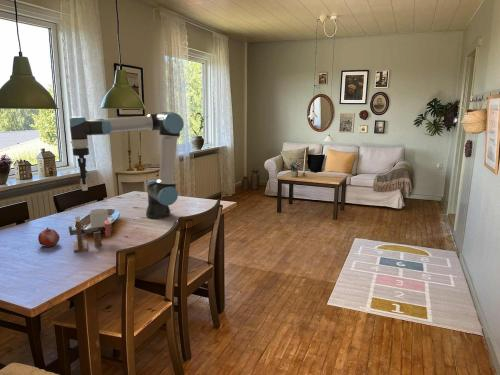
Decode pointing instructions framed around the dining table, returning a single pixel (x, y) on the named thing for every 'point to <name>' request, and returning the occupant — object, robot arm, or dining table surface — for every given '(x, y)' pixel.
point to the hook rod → (94, 229)
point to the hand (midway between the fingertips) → (84, 187)
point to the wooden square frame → (79, 238)
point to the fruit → (48, 237)
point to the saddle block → (97, 239)
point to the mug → (98, 217)
